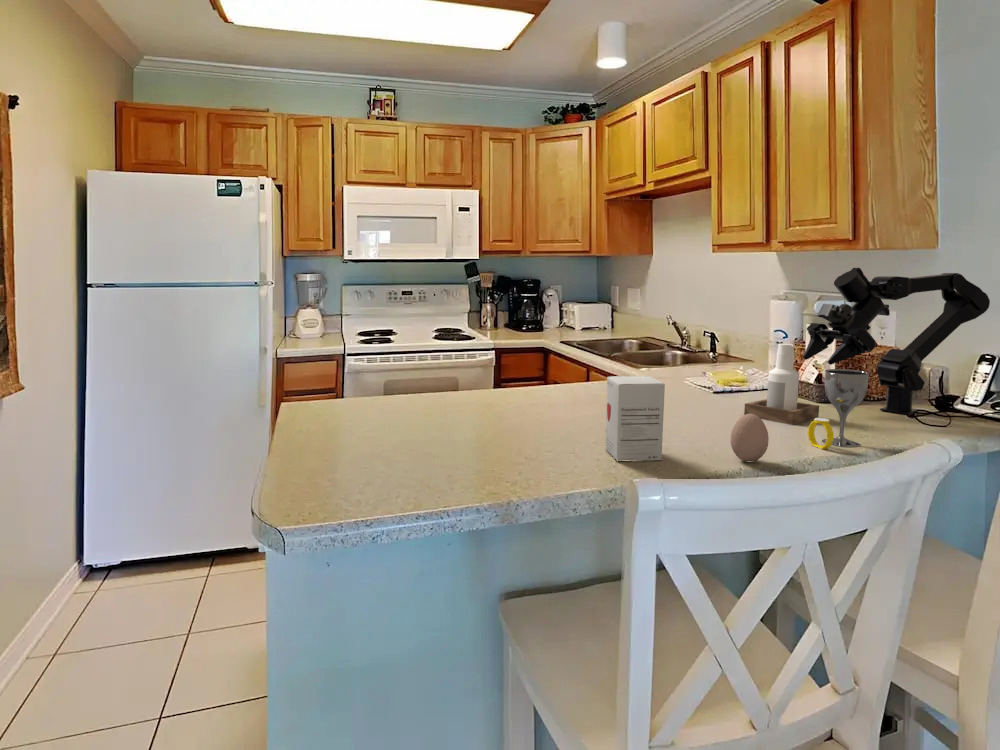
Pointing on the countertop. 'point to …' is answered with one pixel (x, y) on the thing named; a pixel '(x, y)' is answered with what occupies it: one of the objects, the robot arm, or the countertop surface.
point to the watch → (828, 430)
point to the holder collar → (782, 412)
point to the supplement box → (634, 417)
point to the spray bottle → (783, 380)
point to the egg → (749, 438)
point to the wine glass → (845, 397)
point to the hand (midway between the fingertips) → (816, 360)
